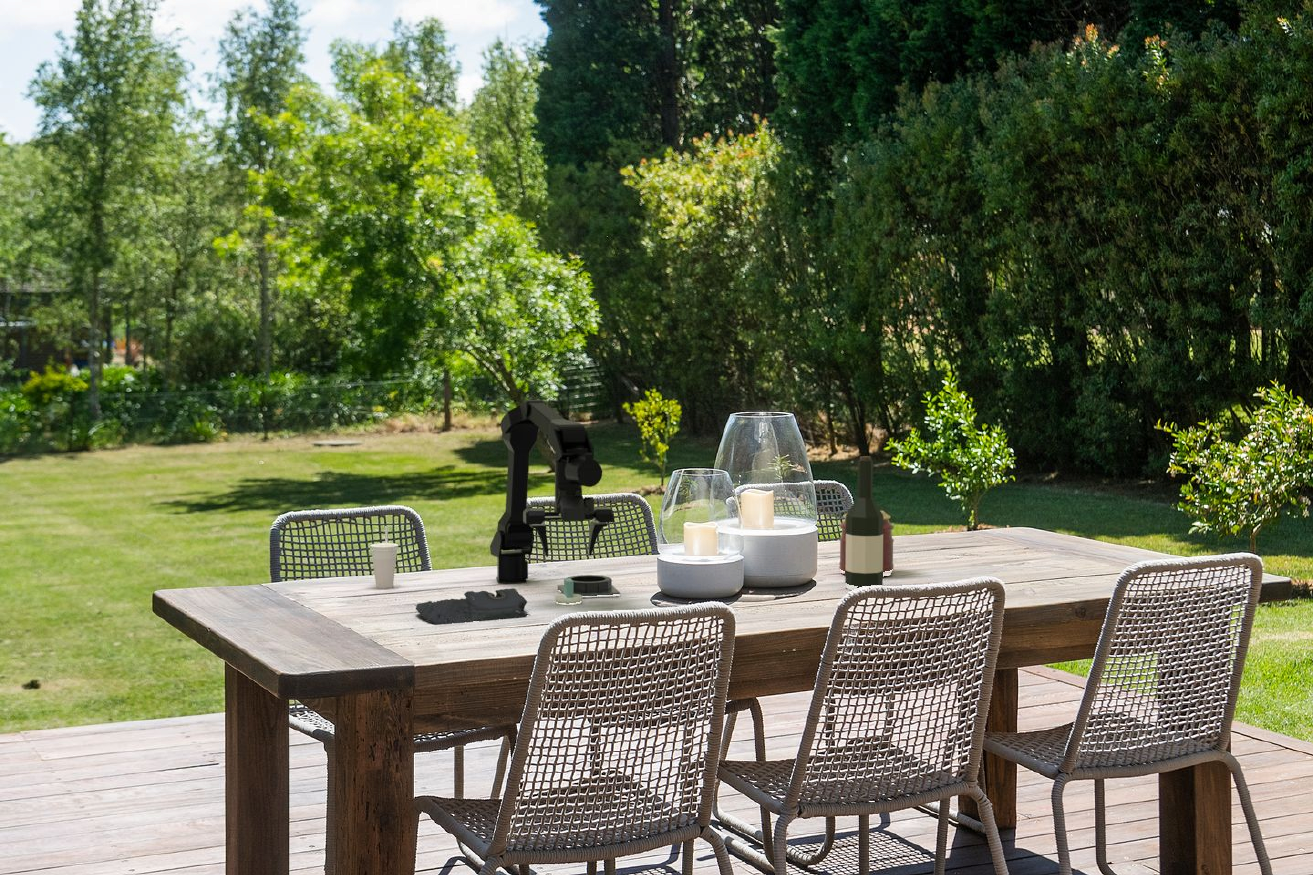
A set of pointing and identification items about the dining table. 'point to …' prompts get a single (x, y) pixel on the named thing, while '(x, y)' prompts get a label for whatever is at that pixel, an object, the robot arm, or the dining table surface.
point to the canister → (886, 544)
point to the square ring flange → (591, 585)
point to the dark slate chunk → (475, 607)
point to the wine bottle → (864, 532)
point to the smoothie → (384, 562)
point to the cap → (568, 594)
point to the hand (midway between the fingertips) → (568, 555)
